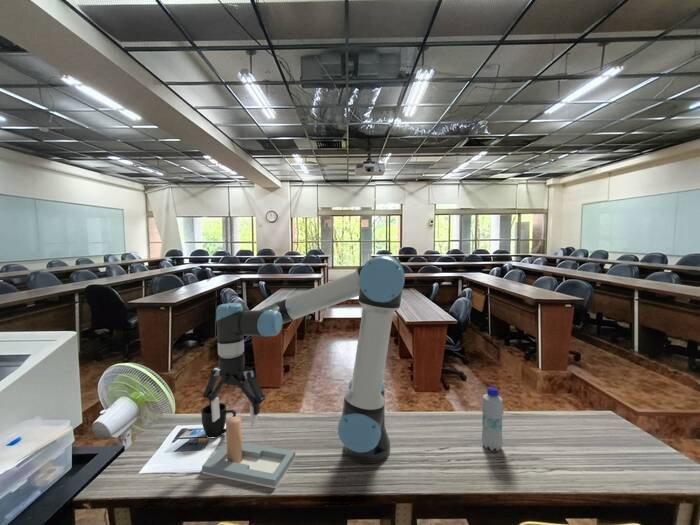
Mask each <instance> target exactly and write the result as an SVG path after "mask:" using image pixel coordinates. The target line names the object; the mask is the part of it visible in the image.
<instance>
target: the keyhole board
mask: <svg viewBox="0 0 700 525" xmlns="http://www.w3.org/2000/svg"><path fill="white" fill-rule="evenodd" d="M295 460H296V450H290V449H284V448H279V447H273V446H266V445H260V444H253V443H248V442H243V441H242V462H241V463H236V462H230V461H227V442H226V443H224V444H223V445H222V447H220V448H219V449H218V450H217V451H216V452H215V453H214V454H213V455H212V456H211V457H210V458H209V459H208V460H207V461H205V462H204V463H203V465H202V466H201V467H202V468H201V470H202V472H201V474H203V475H207V476H208V475H209V476H214V477H217V478H223V479H227V480H233V481H237V482H240V483H241V482H243V483H246V484H247V483H248V484H252V485H256V486H262V487H267V488H271V489H277V487H278V486H279V484H280V483H281V481H282V480H283V478H284V477H285V475H286V473H287V472H288V471H289V469H290V467H291V466H292V465H293V463H294V461H295Z"/></svg>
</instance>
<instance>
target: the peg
mask: <svg viewBox="0 0 700 525" xmlns="http://www.w3.org/2000/svg"><path fill="white" fill-rule="evenodd" d="M225 429H226V443H227V461H230V462H236V463H241V462H242V442H243V440H242V439H243V438H242V434H243V433H242V417H240V416H236V417H233V416H232V417H228V418H226V422H225Z"/></svg>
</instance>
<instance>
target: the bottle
mask: <svg viewBox="0 0 700 525" xmlns="http://www.w3.org/2000/svg"><path fill="white" fill-rule="evenodd" d="M481 410H482V428H481V430H482V431H481V443H482V445H483V446H484V448H485V449H488V448H489V449H490V451H493V452H494V449H495V451H496V452H499V451H500V450H501V449H502V446H503V414H504V411H505V410H504V402H503V397H501V396H499V390H498V388H497V387H494V386H489V387H487V390H486V393H485V394H483V395H482V400H481Z"/></svg>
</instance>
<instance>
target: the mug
mask: <svg viewBox="0 0 700 525" xmlns="http://www.w3.org/2000/svg"><path fill="white" fill-rule="evenodd" d="M219 408H220V418H219V419H217V420H216V421H215V422H212V410H210V404H207V405H206V406H204V407H203V408H202V409H201V425H202V428H203V431H204V434H205V436H208V437H217V438H219V437H221V436H222V435H224V434H225V433H226V428H225V427H226V420H227V414H228V413H231V414H232V417H237V411H236V410H235V409H227V405H226V404H225V403H223V402H219ZM218 436H219V437H218Z"/></svg>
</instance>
